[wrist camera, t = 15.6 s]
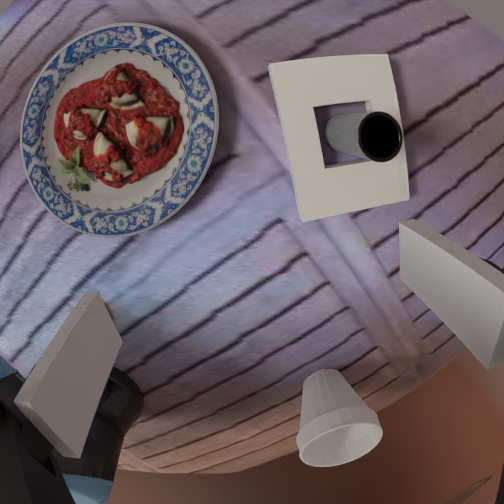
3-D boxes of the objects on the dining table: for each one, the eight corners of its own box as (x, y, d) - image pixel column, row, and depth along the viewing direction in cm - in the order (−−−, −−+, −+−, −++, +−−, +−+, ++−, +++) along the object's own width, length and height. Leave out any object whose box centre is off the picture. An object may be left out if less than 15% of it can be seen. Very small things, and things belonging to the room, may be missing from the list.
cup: (356, 395, 50) (379, 453, 37) (291, 411, 50) (302, 473, 38) (357, 347, 45) (388, 412, 32) (281, 366, 45) (294, 437, 33)
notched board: (402, 196, 36) (409, 199, 34) (299, 217, 36) (302, 222, 35) (380, 57, 29) (387, 54, 27) (267, 67, 30) (269, 63, 28)
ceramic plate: (158, -9, 25) (152, -18, 22) (260, 164, 34) (263, 168, 31) (5, 113, 28) (-7, 114, 26) (90, 265, 38) (81, 275, 35)
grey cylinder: (341, 159, 34) (378, 173, 24) (316, 130, 33) (347, 132, 23) (367, 135, 33) (412, 141, 23) (343, 106, 32) (382, 101, 22)
